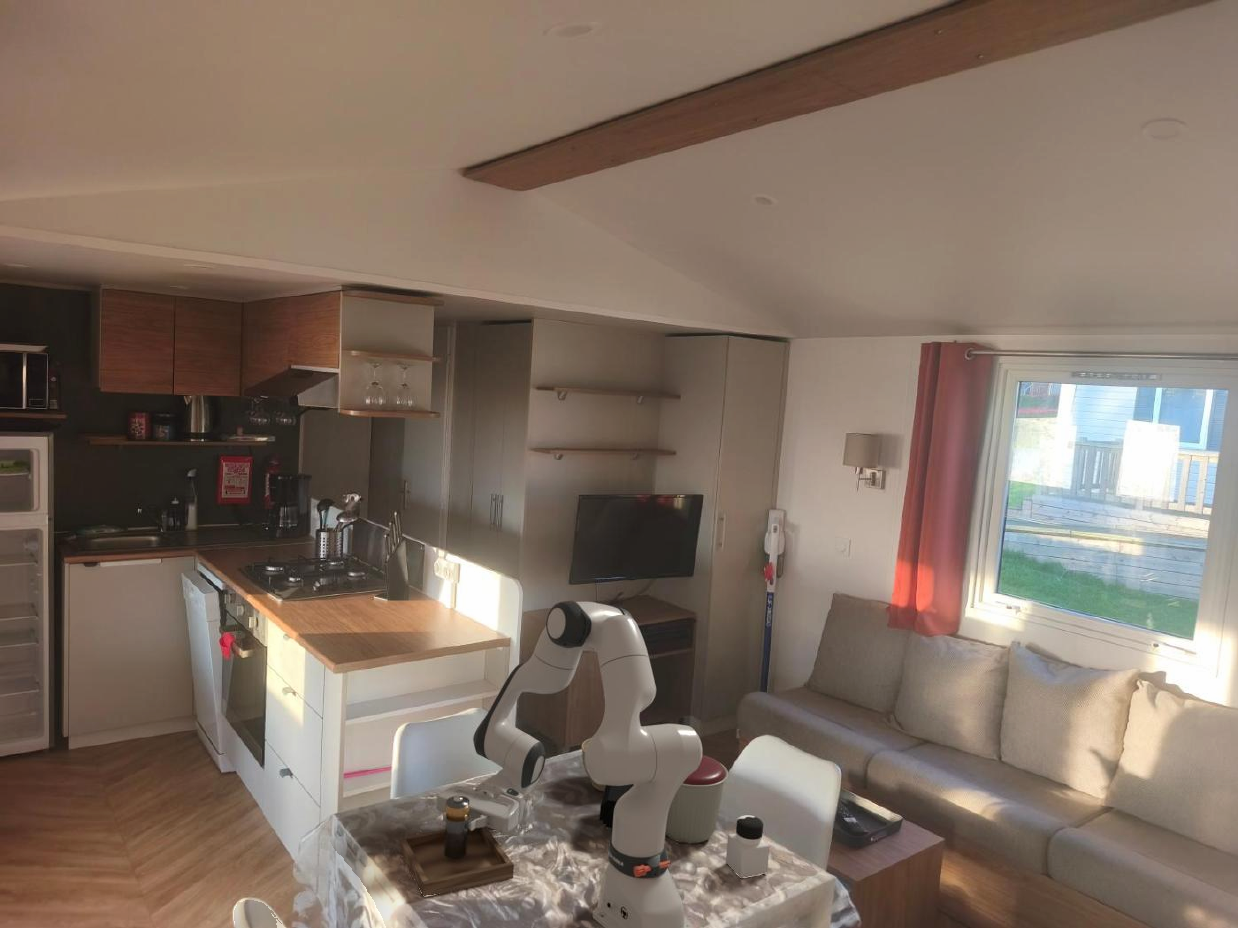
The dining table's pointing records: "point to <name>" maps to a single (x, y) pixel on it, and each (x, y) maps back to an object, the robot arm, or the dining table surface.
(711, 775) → the canister
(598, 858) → the dining table surface
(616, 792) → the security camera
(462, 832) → the cell
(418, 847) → the tray
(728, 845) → the medicine bottle
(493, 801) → the robot arm
